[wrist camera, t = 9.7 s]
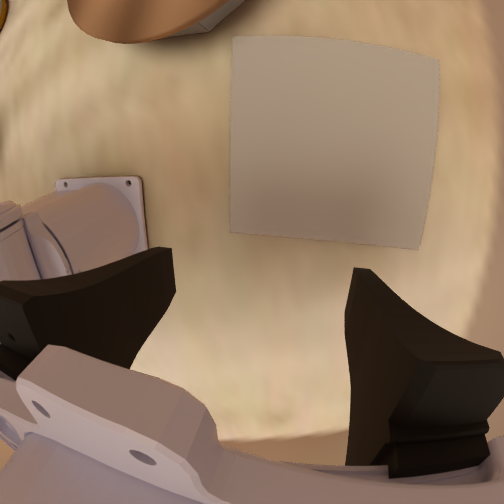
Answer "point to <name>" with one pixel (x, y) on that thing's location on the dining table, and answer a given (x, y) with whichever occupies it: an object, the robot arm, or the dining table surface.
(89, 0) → the lid
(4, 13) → the bottle
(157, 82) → the dining table surface
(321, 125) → the mat
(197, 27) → the bowl
